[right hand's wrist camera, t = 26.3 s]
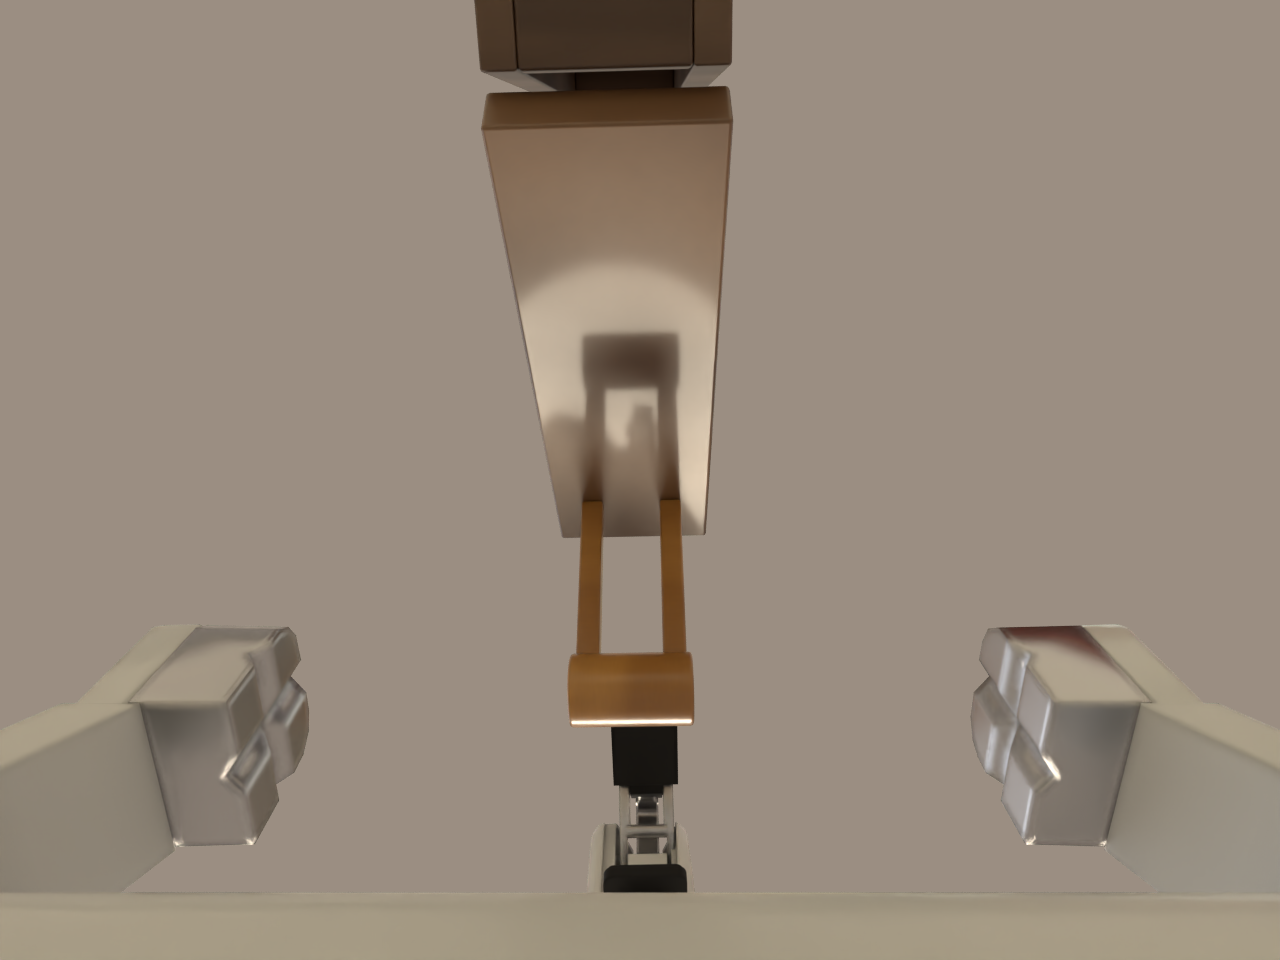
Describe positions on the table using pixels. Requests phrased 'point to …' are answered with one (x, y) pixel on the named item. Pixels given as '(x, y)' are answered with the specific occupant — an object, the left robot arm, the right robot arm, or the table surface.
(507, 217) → the lid
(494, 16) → the chest
